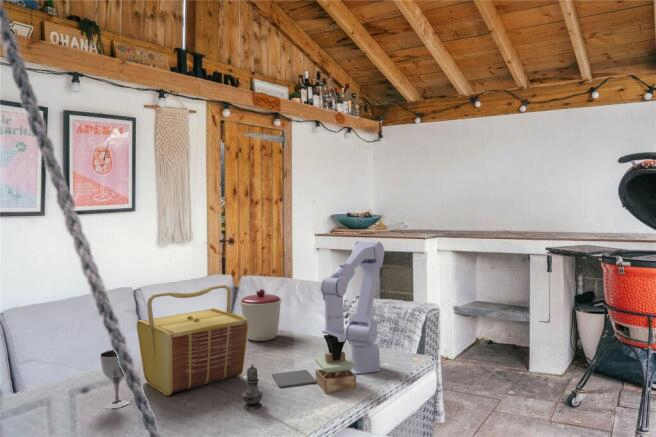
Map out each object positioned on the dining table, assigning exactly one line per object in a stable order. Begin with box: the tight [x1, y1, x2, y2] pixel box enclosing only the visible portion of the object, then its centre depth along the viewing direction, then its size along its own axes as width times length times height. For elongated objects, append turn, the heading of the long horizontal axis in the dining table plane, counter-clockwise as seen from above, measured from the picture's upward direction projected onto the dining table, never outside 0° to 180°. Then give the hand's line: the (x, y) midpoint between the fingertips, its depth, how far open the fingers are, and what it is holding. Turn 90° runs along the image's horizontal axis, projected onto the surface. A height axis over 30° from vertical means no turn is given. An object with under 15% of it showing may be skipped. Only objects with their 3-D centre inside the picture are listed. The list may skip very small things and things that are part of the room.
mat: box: [271, 369, 317, 389], centre depth 162 cm, size 12×12×1 cm
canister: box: [239, 288, 283, 342], centre depth 213 cm, size 18×18×21 cm
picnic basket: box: [136, 284, 248, 396], centre depth 163 cm, size 29×26×30 cm
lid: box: [314, 351, 357, 373], centre depth 156 cm, size 10×10×4 cm
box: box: [315, 368, 357, 394], centre depth 156 cm, size 10×10×4 cm
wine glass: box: [100, 349, 131, 404], centre depth 144 cm, size 8×8×15 cm
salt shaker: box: [241, 364, 264, 411], centre depth 141 cm, size 6×6×12 cm
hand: (335, 358), depth 156 cm, fingers closed on lid, 2 cm apart
